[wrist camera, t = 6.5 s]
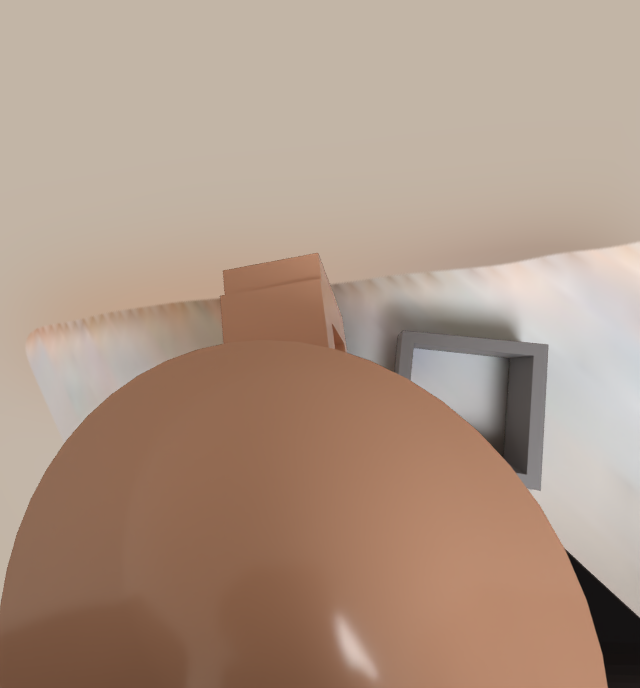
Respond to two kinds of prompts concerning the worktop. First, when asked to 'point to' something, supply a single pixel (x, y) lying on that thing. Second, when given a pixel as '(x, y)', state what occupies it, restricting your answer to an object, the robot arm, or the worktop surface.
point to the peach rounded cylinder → (287, 528)
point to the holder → (522, 391)
